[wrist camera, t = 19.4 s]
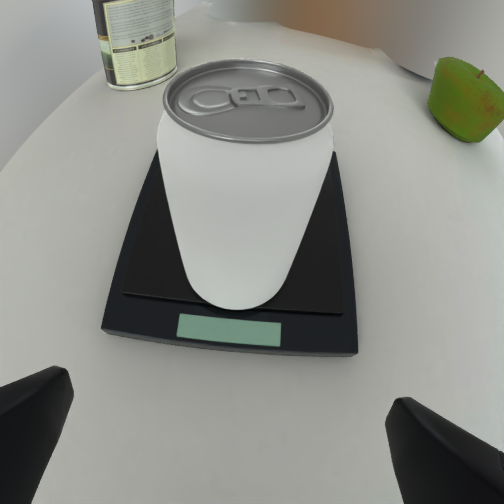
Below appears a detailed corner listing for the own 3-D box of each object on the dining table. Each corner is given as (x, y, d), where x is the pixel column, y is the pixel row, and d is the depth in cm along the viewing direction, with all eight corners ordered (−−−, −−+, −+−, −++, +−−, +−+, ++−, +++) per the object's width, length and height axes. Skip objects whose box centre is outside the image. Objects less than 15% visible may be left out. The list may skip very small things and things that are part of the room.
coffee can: (92, 87, 33) (74, 0, 21) (138, 57, 38) (130, -20, 26) (147, 95, 31) (134, -10, 19) (192, 63, 36) (191, -25, 24)
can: (181, 227, 20) (156, 60, 10) (275, 217, 21) (310, 56, 11) (189, 319, 17) (140, 163, 7) (297, 304, 18) (380, 151, 8)
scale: (351, 357, 18) (361, 352, 17) (106, 333, 18) (97, 327, 16) (332, 160, 27) (337, 148, 26) (164, 144, 27) (162, 131, 25)
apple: (422, 94, 39) (445, 40, 30) (481, 132, 37) (509, 83, 27) (413, 121, 34) (443, 53, 24) (484, 168, 31) (524, 109, 21)
